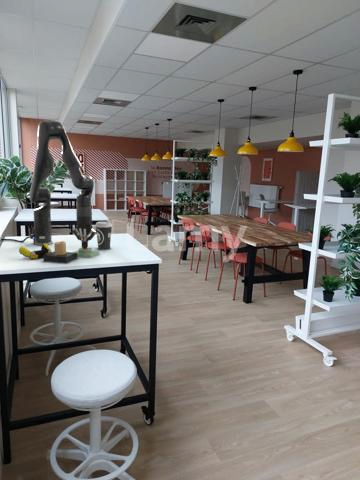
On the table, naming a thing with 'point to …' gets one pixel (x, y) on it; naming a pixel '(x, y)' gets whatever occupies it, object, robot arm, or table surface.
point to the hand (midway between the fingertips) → (84, 248)
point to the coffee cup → (103, 235)
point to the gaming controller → (35, 252)
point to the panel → (60, 257)
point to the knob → (60, 248)
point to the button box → (86, 253)
